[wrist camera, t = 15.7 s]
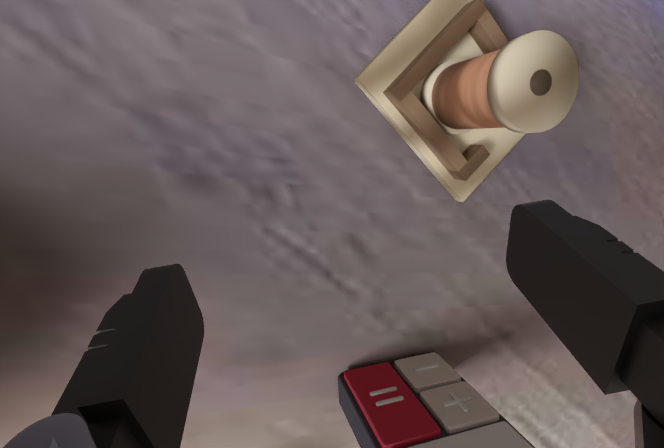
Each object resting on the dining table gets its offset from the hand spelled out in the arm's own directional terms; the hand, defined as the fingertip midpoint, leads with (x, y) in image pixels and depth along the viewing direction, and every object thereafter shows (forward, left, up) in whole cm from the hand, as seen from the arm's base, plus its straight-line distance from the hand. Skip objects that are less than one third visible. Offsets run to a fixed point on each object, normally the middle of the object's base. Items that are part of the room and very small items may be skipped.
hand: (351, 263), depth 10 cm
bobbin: (+7, +17, -23) cm, 29 cm away
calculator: (+23, -6, -24) cm, 34 cm away
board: (+8, +17, -24) cm, 31 cm away
